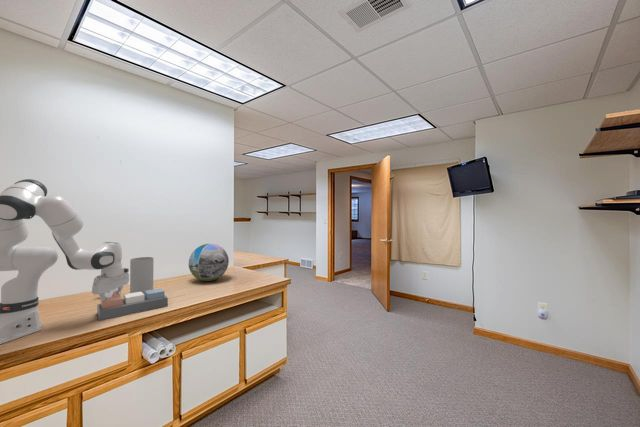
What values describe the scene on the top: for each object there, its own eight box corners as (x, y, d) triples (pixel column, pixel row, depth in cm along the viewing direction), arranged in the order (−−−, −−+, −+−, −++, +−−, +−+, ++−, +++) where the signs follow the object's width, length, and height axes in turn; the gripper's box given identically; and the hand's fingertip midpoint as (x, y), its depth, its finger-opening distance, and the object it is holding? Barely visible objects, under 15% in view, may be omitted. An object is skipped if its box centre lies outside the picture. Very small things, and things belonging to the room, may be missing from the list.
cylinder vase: (157, 296, 173) (157, 258, 173) (136, 301, 162) (136, 261, 162) (147, 292, 179) (147, 256, 179) (126, 297, 169) (126, 259, 169)
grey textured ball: (207, 275, 232) (207, 241, 232) (236, 277, 223) (236, 242, 223) (179, 283, 204) (179, 244, 204) (211, 287, 194) (211, 246, 194)
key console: (99, 320, 133) (99, 310, 133) (97, 313, 143) (97, 304, 143) (167, 306, 155) (167, 297, 155) (161, 300, 164) (161, 292, 164)
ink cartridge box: (111, 294, 176) (112, 272, 176) (118, 294, 175) (118, 272, 175) (98, 298, 168) (99, 275, 168) (105, 298, 167) (105, 275, 167)
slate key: (147, 301, 150) (147, 294, 150) (144, 297, 156) (144, 290, 156) (164, 297, 156) (164, 291, 156) (160, 294, 162) (160, 288, 162)
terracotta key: (101, 309, 136) (102, 302, 136) (100, 305, 142) (100, 298, 142) (122, 306, 142) (122, 298, 142) (119, 302, 148) (119, 295, 148)
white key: (125, 305, 143) (126, 297, 143) (123, 301, 149) (123, 294, 149) (144, 301, 149) (144, 294, 149) (141, 298, 155) (141, 291, 155)
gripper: (100, 276, 131) (100, 304, 131) (131, 268, 151) (131, 291, 151) (88, 276, 131) (88, 304, 131) (120, 267, 152) (120, 291, 152)
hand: (111, 297), depth 141 cm, fingers open, 8 cm apart
